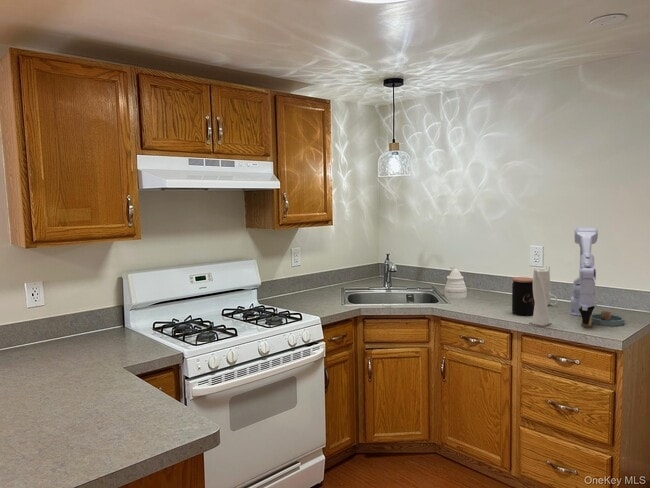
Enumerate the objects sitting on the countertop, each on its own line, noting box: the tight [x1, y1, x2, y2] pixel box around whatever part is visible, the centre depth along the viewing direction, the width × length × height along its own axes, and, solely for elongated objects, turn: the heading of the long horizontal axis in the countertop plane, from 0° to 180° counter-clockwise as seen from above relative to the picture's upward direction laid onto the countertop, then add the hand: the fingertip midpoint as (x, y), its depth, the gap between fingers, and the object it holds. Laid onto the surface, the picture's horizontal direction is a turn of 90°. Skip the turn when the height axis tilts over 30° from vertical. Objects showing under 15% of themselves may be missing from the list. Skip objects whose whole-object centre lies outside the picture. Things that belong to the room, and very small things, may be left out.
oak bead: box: [580, 315, 592, 328], centre depth 229 cm, size 4×4×5 cm
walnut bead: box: [600, 310, 612, 321], centre depth 231 cm, size 4×4×5 cm
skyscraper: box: [529, 265, 552, 328], centre depth 232 cm, size 8×8×28 cm
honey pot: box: [444, 265, 468, 299], centre depth 302 cm, size 13×13×18 cm
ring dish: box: [591, 313, 625, 327], centre depth 234 cm, size 14×14×2 cm
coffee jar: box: [511, 276, 535, 317], centre depth 254 cm, size 11×11×18 cm
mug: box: [547, 291, 558, 306], centre depth 272 cm, size 12×8×8 cm
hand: (586, 322), depth 229 cm, fingers closed on oak bead, 4 cm apart
